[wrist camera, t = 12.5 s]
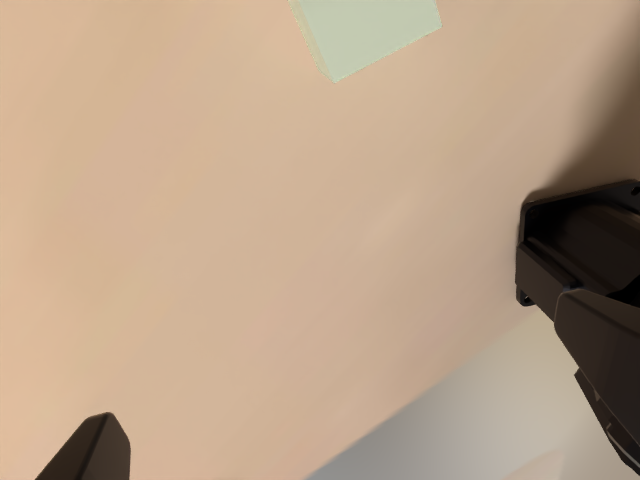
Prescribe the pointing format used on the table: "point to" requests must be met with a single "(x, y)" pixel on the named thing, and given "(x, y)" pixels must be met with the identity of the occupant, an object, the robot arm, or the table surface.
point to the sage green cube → (360, 30)
